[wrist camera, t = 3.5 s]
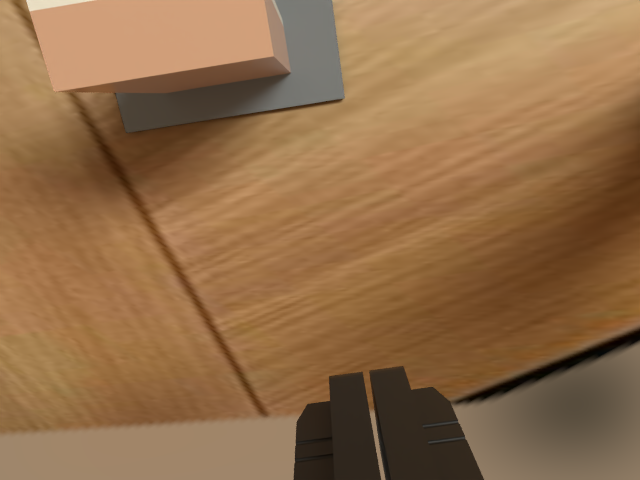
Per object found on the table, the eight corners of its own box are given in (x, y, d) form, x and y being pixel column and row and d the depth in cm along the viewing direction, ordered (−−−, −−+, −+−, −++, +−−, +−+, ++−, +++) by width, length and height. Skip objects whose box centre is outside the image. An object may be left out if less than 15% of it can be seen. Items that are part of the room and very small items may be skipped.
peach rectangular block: (282, 18, 32) (257, -43, 18) (290, 72, 33) (273, 56, 19) (152, 40, 32) (25, -3, 18) (165, 93, 33) (54, 91, 19)
